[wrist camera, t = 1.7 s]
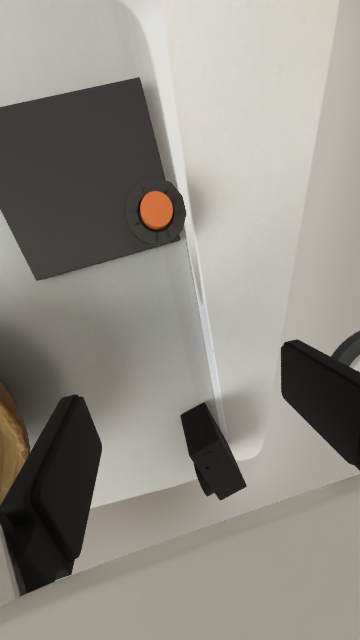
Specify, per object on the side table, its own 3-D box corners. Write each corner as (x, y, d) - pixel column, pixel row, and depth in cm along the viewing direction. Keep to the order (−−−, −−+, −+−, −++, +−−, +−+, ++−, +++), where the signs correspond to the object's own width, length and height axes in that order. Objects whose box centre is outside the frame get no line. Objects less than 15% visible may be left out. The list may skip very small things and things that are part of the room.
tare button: (165, 192, 20) (168, 187, 18) (174, 225, 21) (176, 222, 19) (136, 200, 20) (135, 195, 18) (146, 233, 21) (146, 230, 19)
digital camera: (172, 418, 31) (180, 461, 25) (203, 401, 31) (219, 439, 25) (199, 458, 35) (212, 505, 28) (227, 443, 35) (247, 487, 28)
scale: (149, 86, 19) (150, 57, 17) (186, 238, 24) (191, 236, 21) (-33, 126, 18) (-66, 102, 15) (42, 279, 23) (28, 282, 20)
